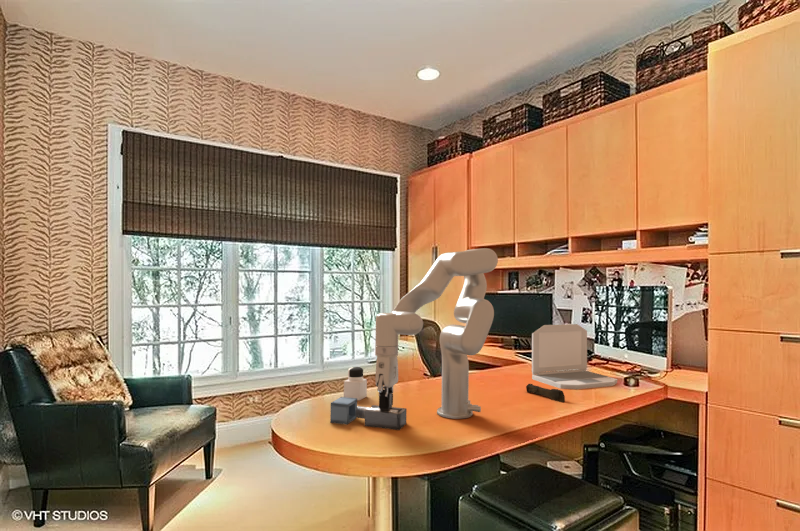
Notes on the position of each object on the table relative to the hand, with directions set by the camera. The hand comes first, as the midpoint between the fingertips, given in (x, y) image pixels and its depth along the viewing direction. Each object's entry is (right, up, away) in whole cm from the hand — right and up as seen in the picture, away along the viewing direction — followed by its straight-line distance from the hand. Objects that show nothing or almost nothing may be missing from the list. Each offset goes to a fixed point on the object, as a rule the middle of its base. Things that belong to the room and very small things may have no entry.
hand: (385, 406), depth 151 cm
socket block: (-14, -6, +4) cm, 16 cm away
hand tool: (+65, -8, +39) cm, 76 cm away
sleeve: (0, -6, 0) cm, 6 cm away
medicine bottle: (-13, -7, +34) cm, 37 cm away
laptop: (+89, -10, +68) cm, 112 cm away
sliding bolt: (-3, -5, +1) cm, 6 cm away
